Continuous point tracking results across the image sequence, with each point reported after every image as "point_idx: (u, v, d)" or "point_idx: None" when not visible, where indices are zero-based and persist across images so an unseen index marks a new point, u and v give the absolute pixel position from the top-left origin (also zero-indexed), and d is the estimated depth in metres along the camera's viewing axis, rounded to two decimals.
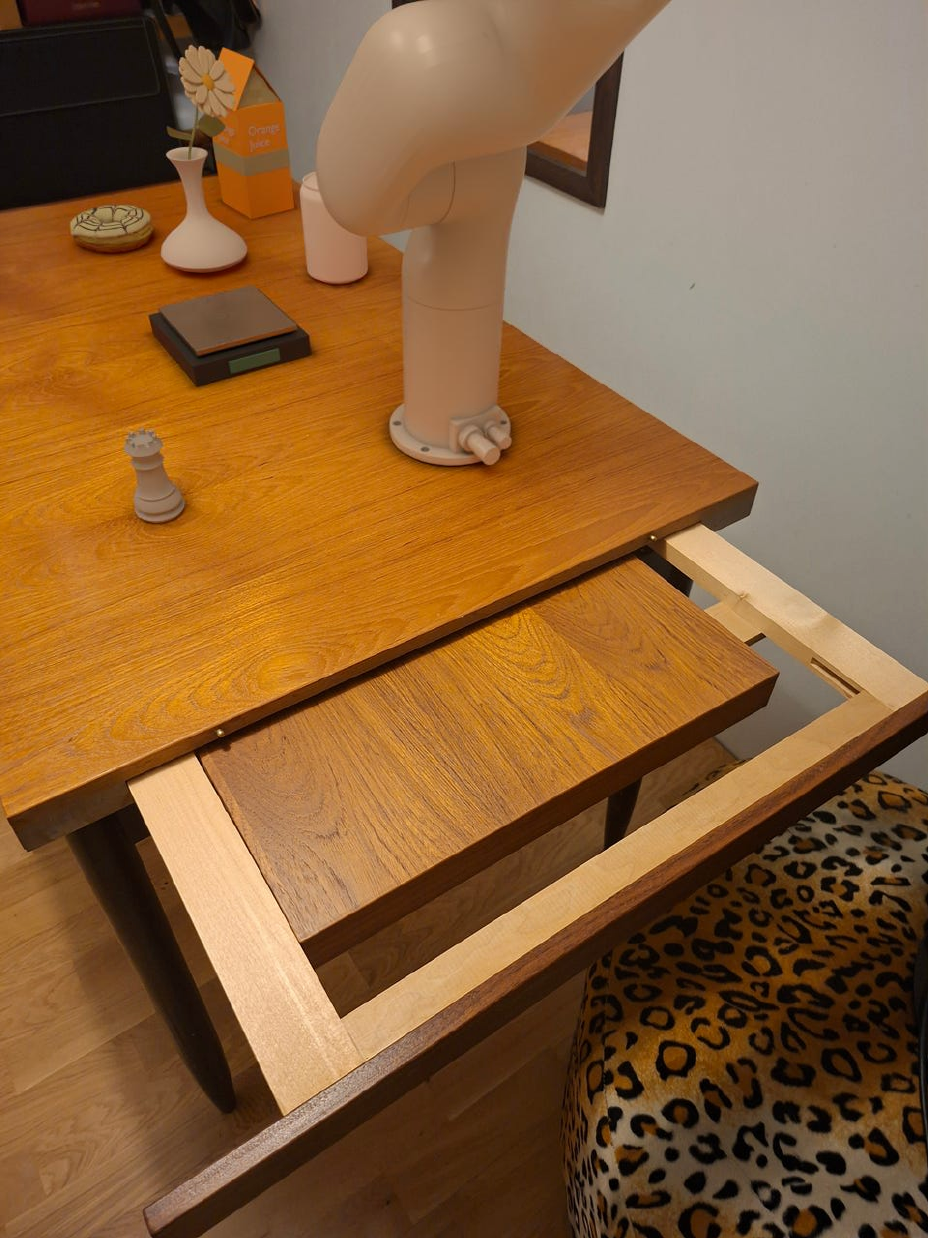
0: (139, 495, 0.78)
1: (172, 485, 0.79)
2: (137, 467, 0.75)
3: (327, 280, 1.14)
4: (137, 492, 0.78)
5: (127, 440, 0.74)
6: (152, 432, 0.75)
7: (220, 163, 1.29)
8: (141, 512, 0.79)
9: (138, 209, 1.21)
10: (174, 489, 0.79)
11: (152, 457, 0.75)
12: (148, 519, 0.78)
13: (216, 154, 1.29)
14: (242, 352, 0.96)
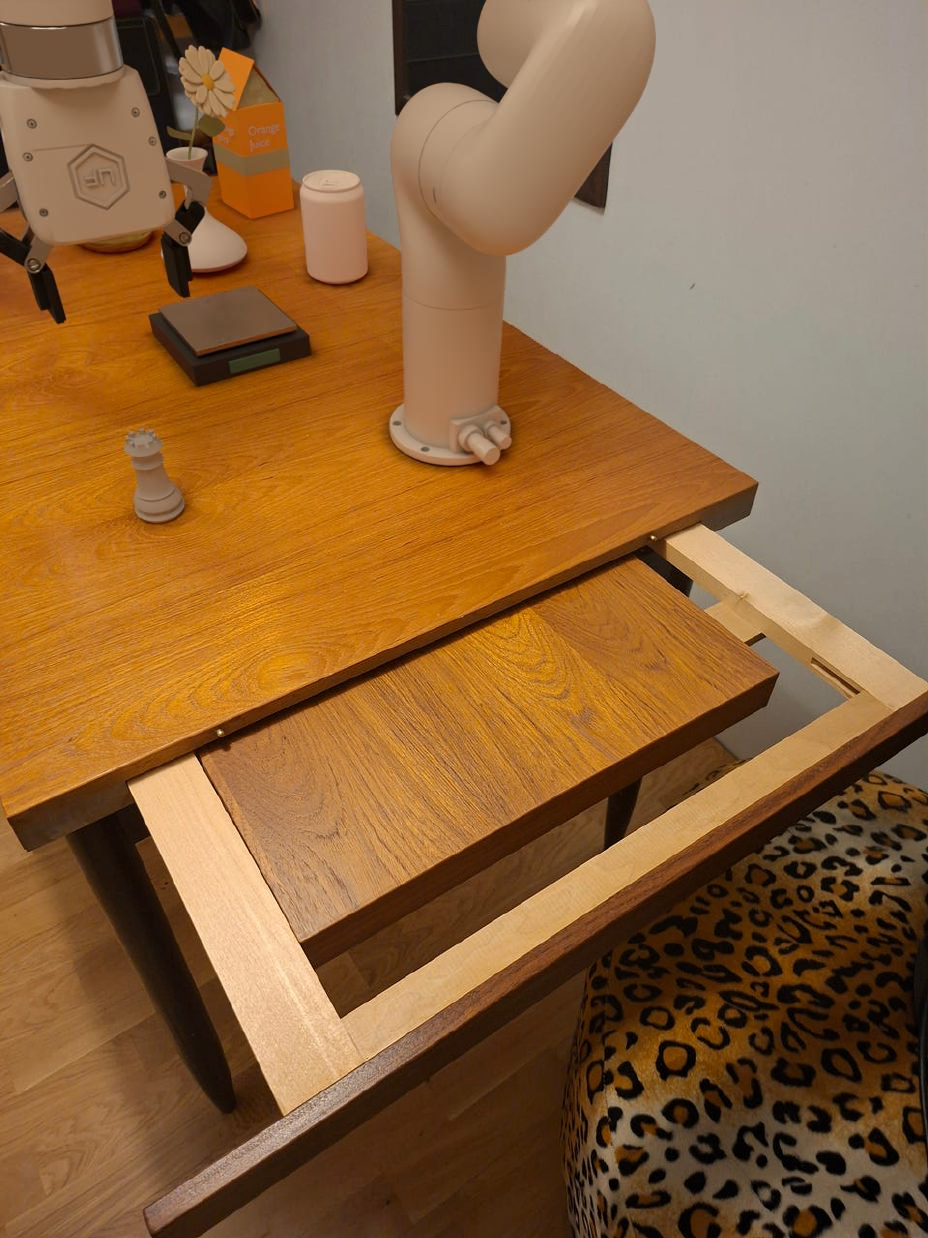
0: (139, 495, 0.78)
1: (172, 485, 0.79)
2: (137, 467, 0.75)
3: (327, 280, 1.14)
4: (137, 492, 0.78)
5: (127, 440, 0.74)
6: (152, 432, 0.75)
7: (220, 163, 1.29)
8: (141, 512, 0.79)
9: None
10: (174, 489, 0.79)
11: (152, 457, 0.75)
12: (148, 519, 0.78)
13: (216, 154, 1.29)
14: (242, 352, 0.96)
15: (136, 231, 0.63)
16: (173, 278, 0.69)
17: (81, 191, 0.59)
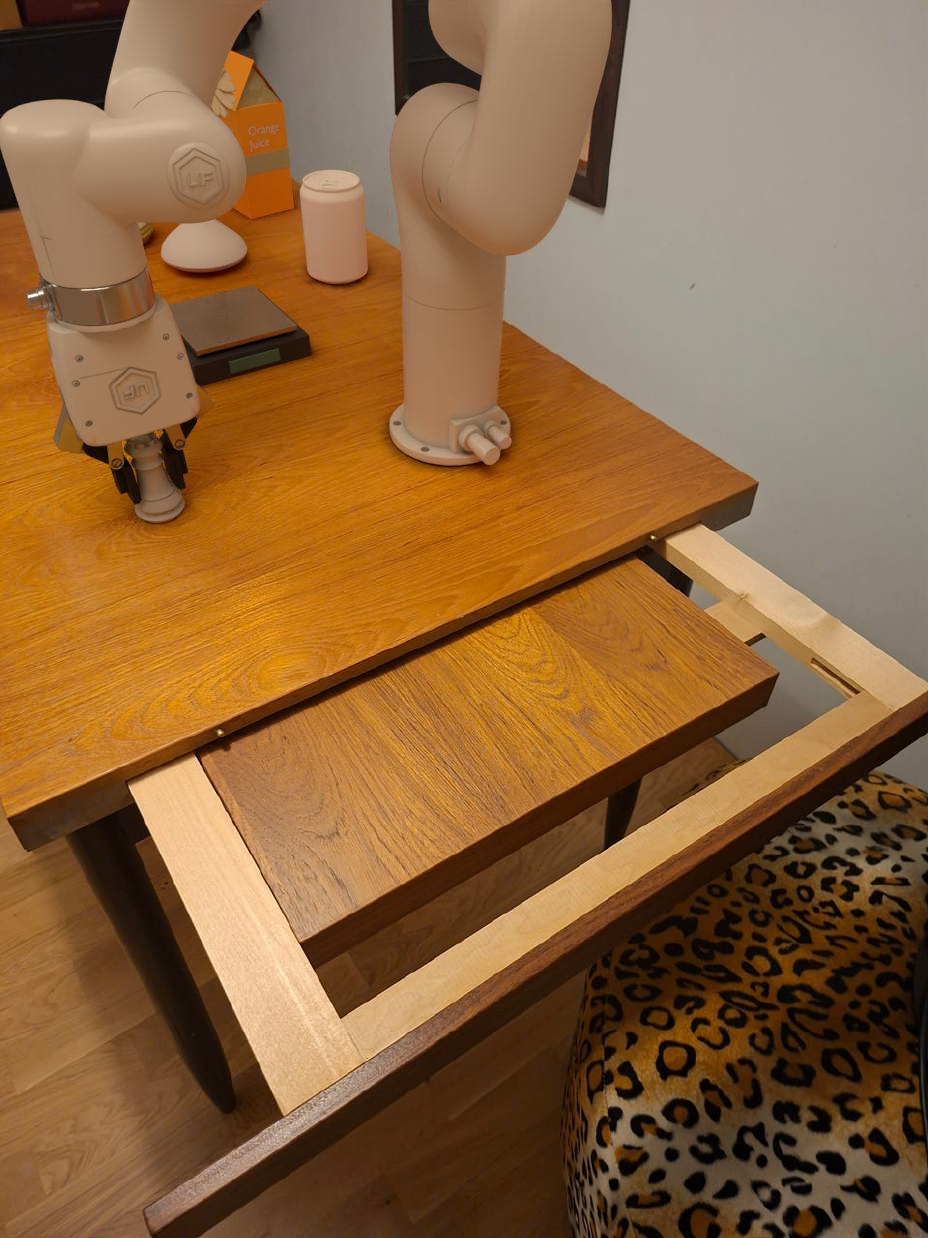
0: None
1: (172, 485, 0.79)
2: (137, 467, 0.75)
3: (327, 280, 1.14)
4: None
5: (127, 440, 0.74)
6: (152, 432, 0.75)
7: None
8: (141, 512, 0.79)
9: None
10: (174, 489, 0.79)
11: (152, 457, 0.75)
12: (148, 519, 0.78)
13: None
14: (242, 352, 0.96)
15: (167, 426, 0.72)
16: (171, 473, 0.78)
17: (120, 403, 0.69)
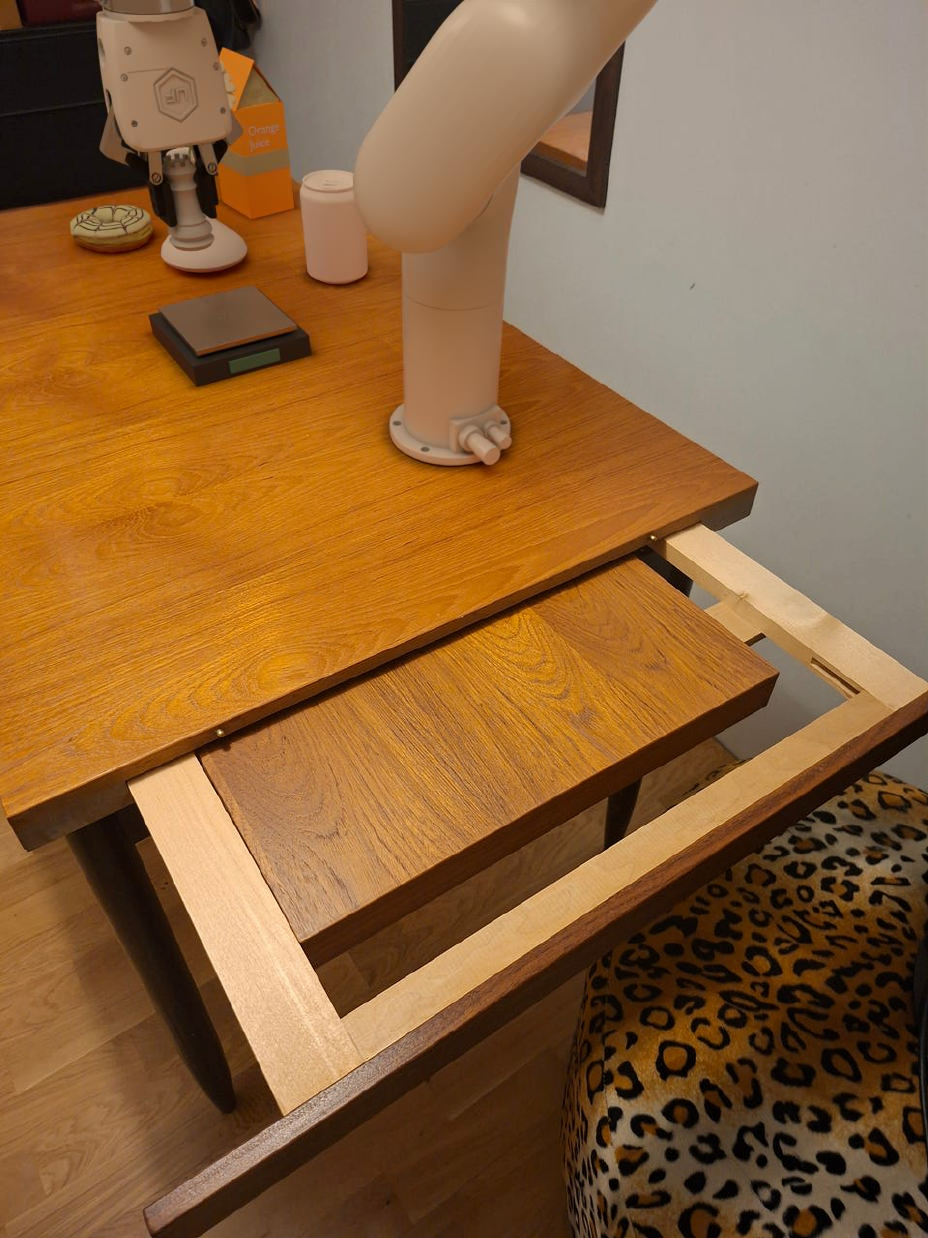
0: None
1: (203, 215, 0.86)
2: (173, 188, 0.82)
3: (327, 280, 1.14)
4: None
5: (164, 160, 0.81)
6: (186, 156, 0.82)
7: (220, 163, 1.29)
8: (175, 240, 0.86)
9: (138, 209, 1.21)
10: (205, 219, 0.86)
11: (187, 178, 0.82)
12: (182, 246, 0.85)
13: None
14: (242, 352, 0.96)
15: (202, 140, 0.79)
16: (203, 202, 0.85)
17: (162, 106, 0.76)
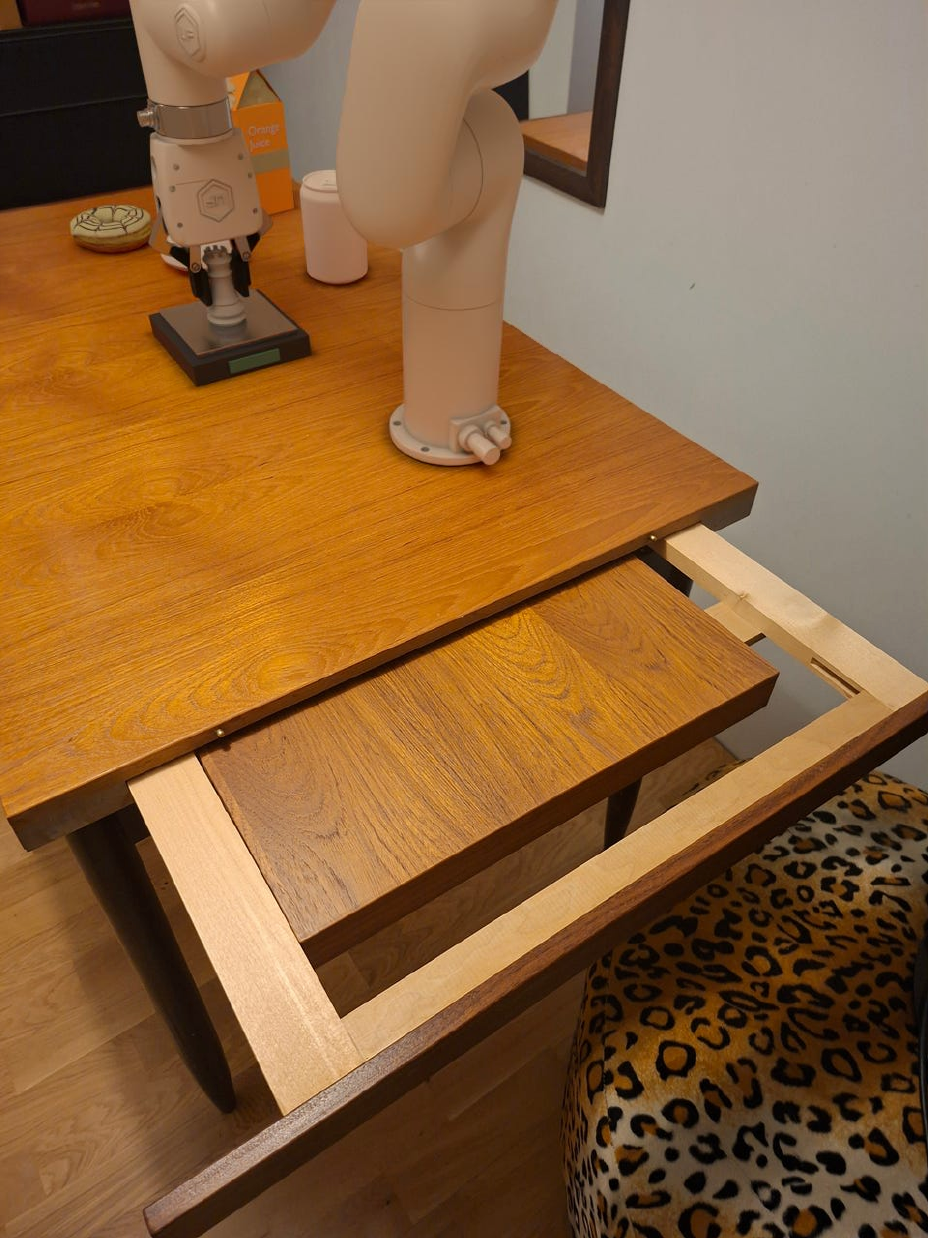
0: None
1: (237, 296, 0.99)
2: (212, 275, 0.95)
3: (327, 280, 1.14)
4: None
5: (205, 251, 0.94)
6: (224, 247, 0.95)
7: None
8: (212, 317, 0.99)
9: (138, 209, 1.21)
10: (238, 299, 0.99)
11: (224, 266, 0.95)
12: (218, 322, 0.98)
13: None
14: (242, 352, 0.96)
15: (237, 236, 0.92)
16: (237, 283, 0.98)
17: (204, 210, 0.89)
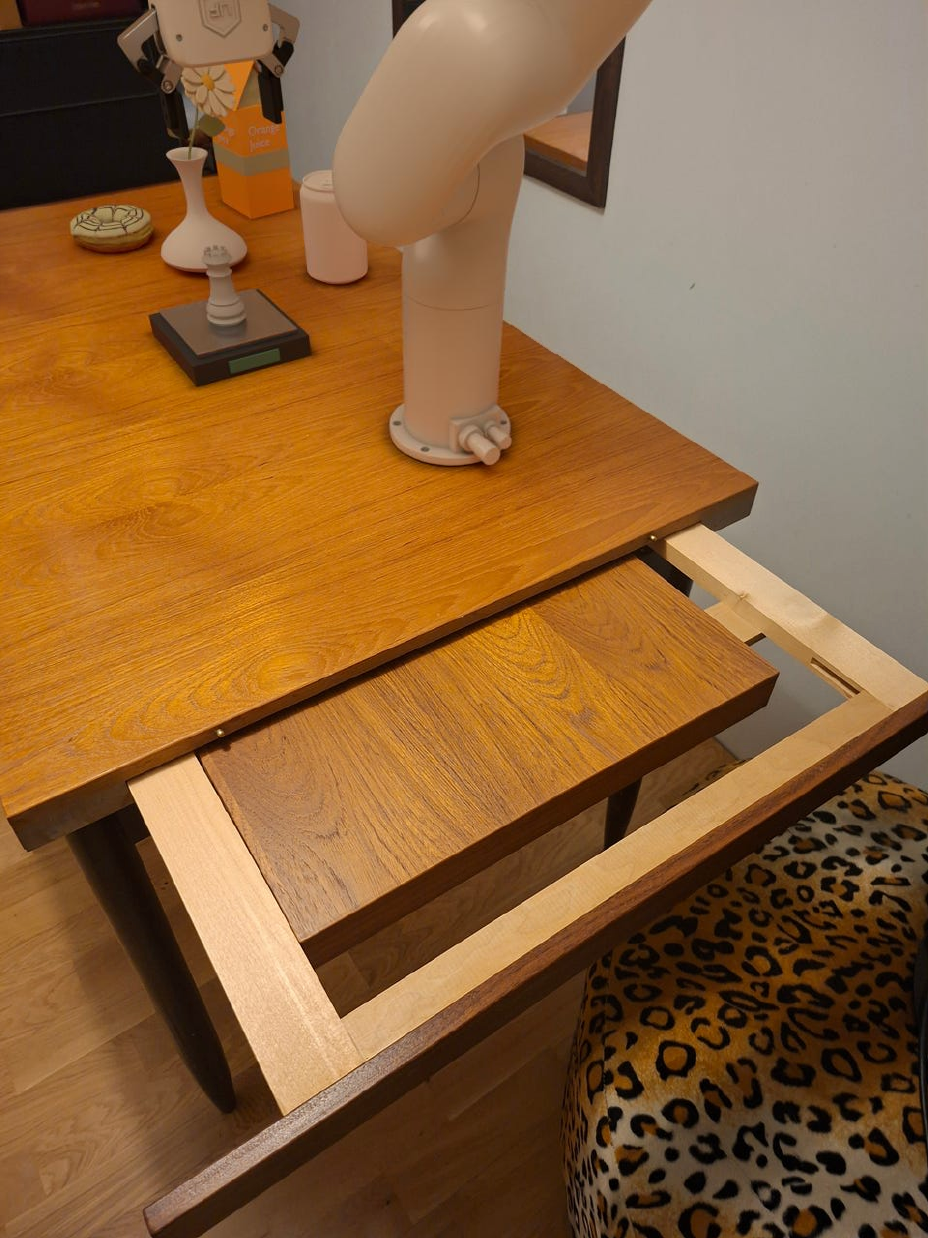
0: (212, 301, 0.98)
1: (237, 296, 0.99)
2: (212, 275, 0.95)
3: (327, 280, 1.14)
4: (210, 300, 0.98)
5: (205, 251, 0.94)
6: (224, 247, 0.95)
7: (220, 163, 1.29)
8: (212, 317, 0.99)
9: (138, 209, 1.21)
10: (238, 299, 0.99)
11: (224, 266, 0.95)
12: (218, 322, 0.98)
13: (216, 154, 1.29)
14: (242, 352, 0.96)
15: (245, 58, 0.80)
16: (268, 108, 0.86)
17: (206, 20, 0.77)
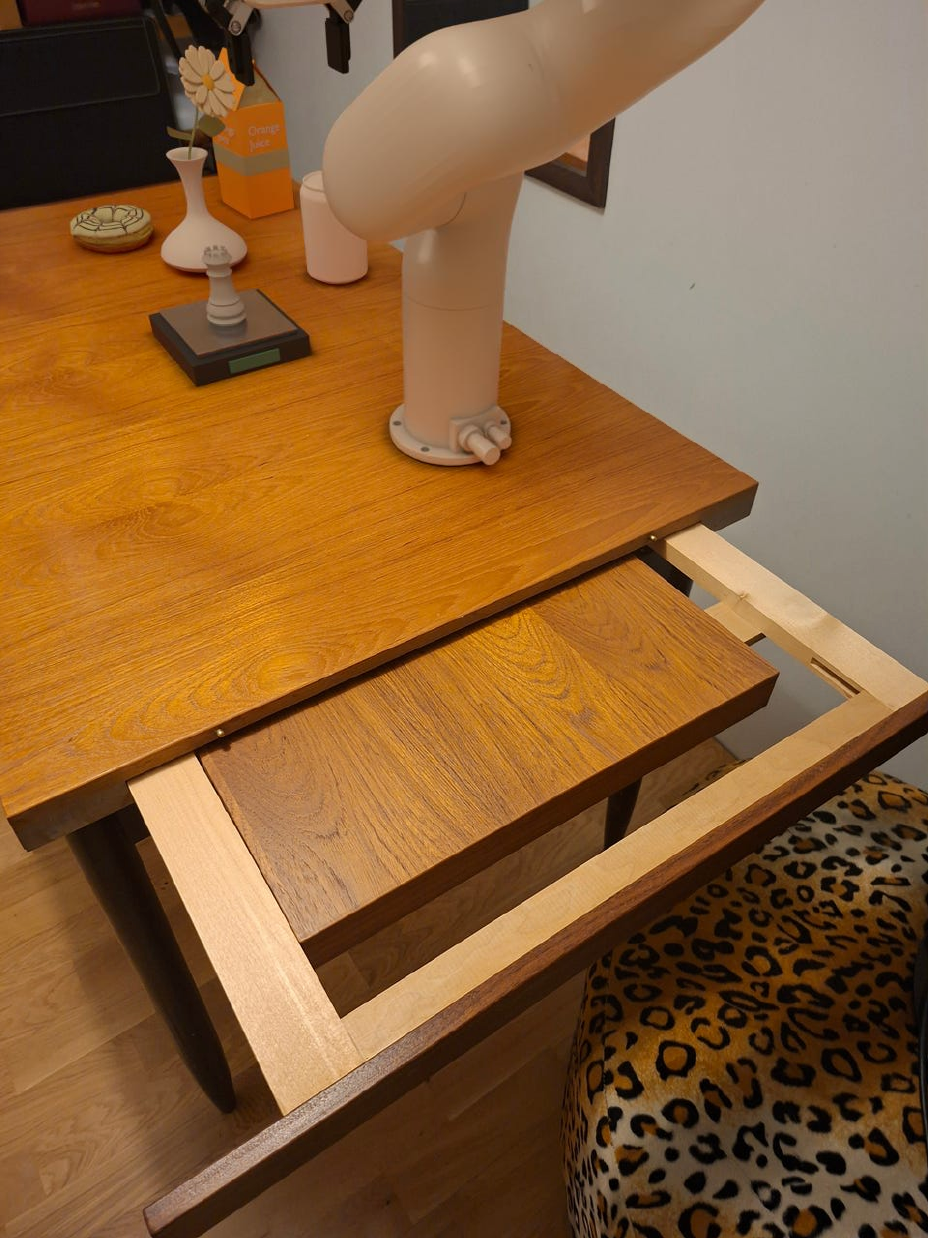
0: (212, 301, 0.98)
1: (237, 296, 0.99)
2: (212, 275, 0.95)
3: (327, 280, 1.14)
4: (210, 300, 0.98)
5: (205, 251, 0.94)
6: (224, 247, 0.95)
7: (220, 163, 1.29)
8: (212, 317, 0.99)
9: (138, 209, 1.21)
10: (238, 299, 0.99)
11: (224, 266, 0.95)
12: (218, 322, 0.98)
13: (216, 154, 1.29)
14: (242, 352, 0.96)
15: (316, 0, 0.76)
16: (335, 56, 0.83)
17: None
